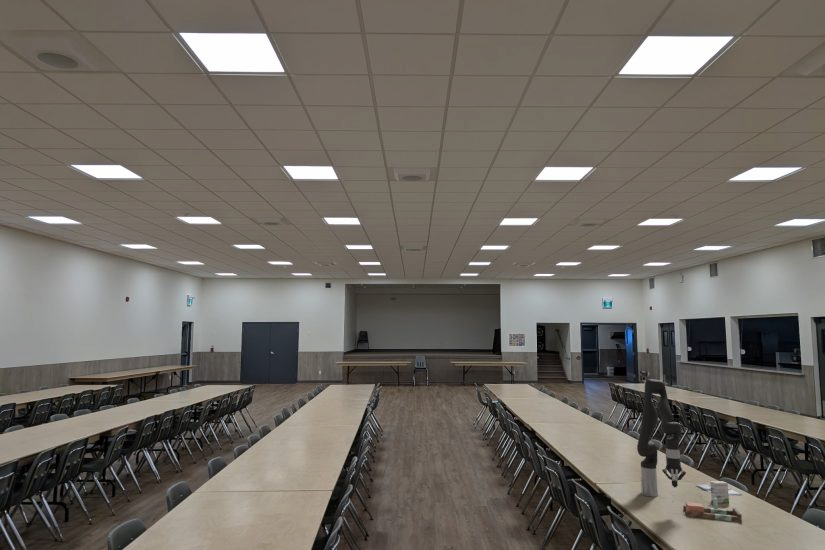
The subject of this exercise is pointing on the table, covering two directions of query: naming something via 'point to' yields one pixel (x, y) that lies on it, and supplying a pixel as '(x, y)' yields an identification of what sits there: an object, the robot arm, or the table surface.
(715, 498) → the post
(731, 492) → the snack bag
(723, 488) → the ink box
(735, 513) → the slot track
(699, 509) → the block
